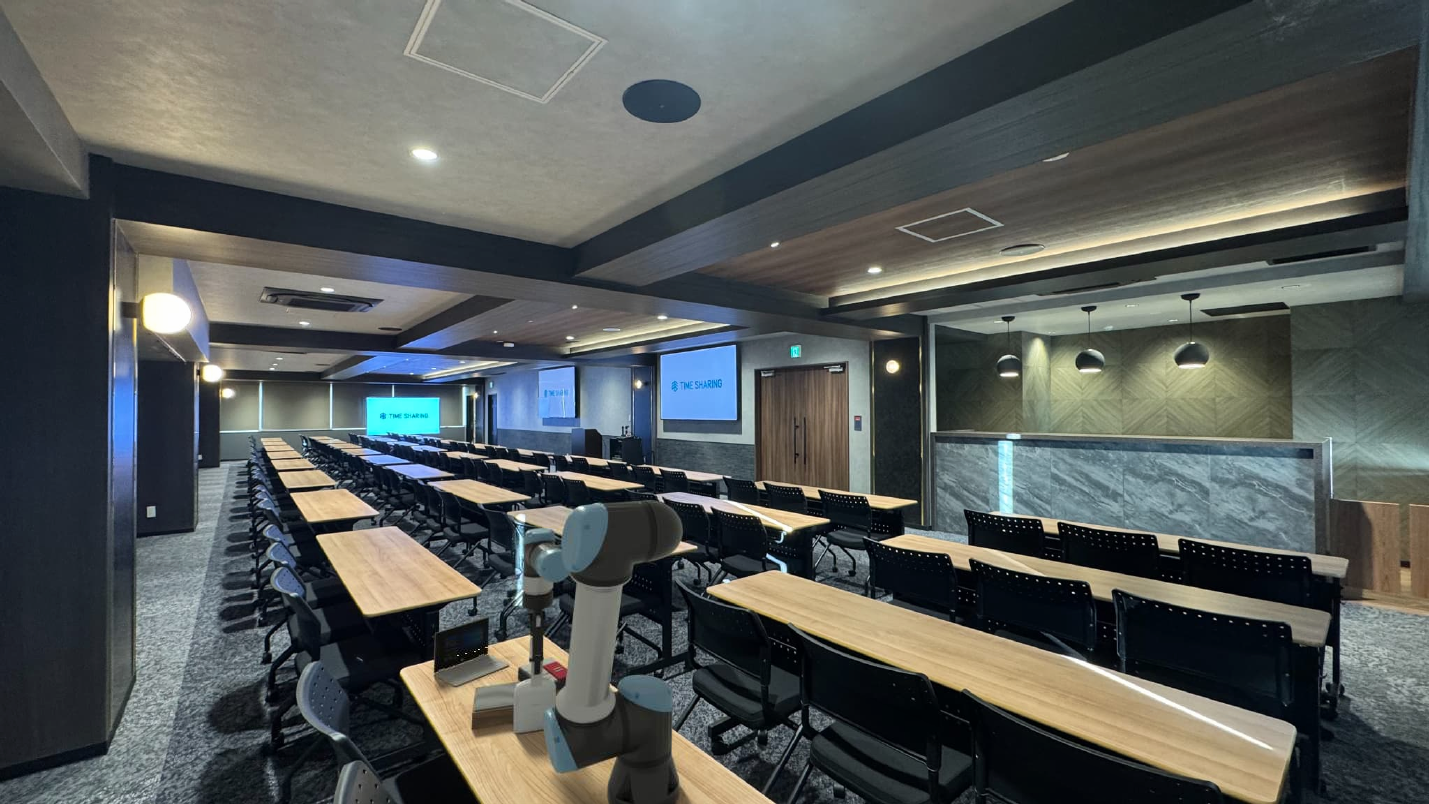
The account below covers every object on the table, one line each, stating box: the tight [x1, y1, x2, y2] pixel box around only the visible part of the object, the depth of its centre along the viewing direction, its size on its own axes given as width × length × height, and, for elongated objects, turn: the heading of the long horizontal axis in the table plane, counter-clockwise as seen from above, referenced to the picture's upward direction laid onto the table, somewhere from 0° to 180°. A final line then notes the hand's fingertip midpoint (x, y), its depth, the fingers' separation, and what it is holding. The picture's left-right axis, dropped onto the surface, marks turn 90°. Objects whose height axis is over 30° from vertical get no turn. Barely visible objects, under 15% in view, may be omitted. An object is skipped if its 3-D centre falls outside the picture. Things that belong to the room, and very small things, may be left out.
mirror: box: [471, 681, 522, 730], centre depth 151 cm, size 14×14×4 cm
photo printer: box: [513, 677, 557, 734], centre depth 143 cm, size 10×4×12 cm, turn 109°
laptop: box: [433, 616, 510, 687], centre depth 174 cm, size 18×12×13 cm
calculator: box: [517, 656, 567, 692], centre depth 168 cm, size 11×4×15 cm
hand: (535, 673), depth 143 cm, fingers open, 13 cm apart
